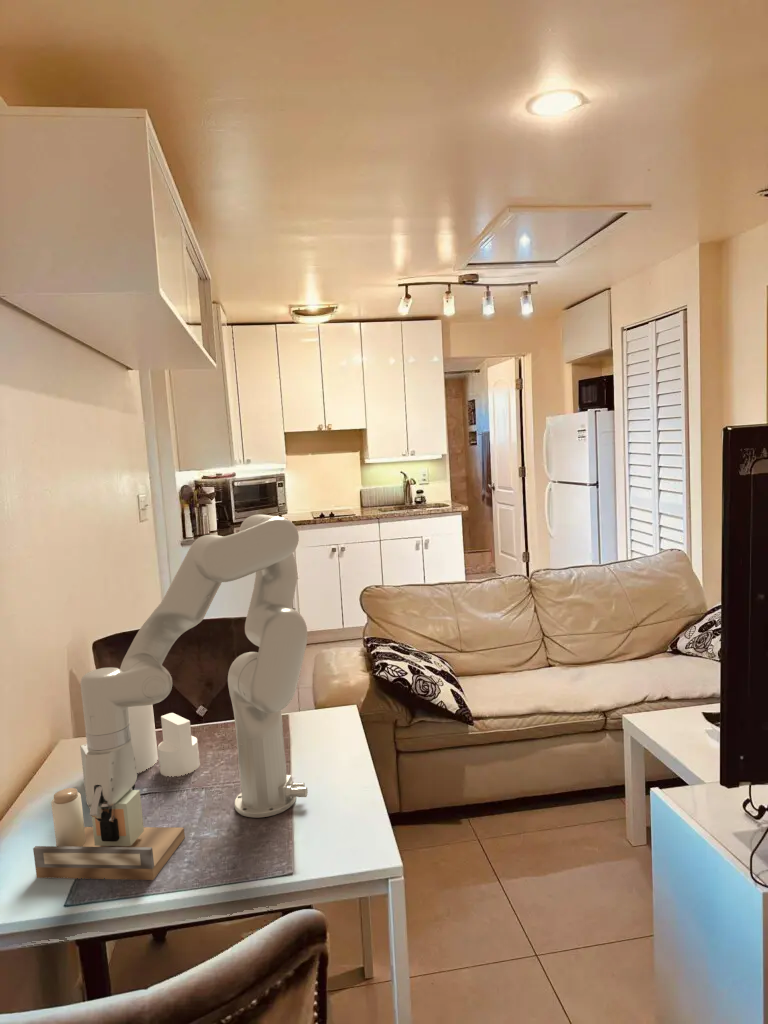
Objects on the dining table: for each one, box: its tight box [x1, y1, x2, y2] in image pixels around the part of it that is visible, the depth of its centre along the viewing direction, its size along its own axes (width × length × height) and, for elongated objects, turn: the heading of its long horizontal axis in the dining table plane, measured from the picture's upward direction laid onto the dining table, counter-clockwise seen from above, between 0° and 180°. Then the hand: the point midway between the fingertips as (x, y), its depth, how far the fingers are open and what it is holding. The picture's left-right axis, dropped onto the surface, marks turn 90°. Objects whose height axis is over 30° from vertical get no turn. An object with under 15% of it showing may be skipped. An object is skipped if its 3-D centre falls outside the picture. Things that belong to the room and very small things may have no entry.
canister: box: [128, 704, 159, 774], centre depth 165 cm, size 14×14×20 cm
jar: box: [50, 787, 86, 847], centre depth 128 cm, size 5×5×10 cm
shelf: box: [32, 826, 186, 881], centre depth 126 cm, size 22×13×6 cm, turn 82°
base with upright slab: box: [157, 712, 201, 778], centre depth 161 cm, size 9×9×12 cm
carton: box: [91, 789, 145, 846], centre depth 127 cm, size 5×7×8 cm
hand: (118, 830), depth 127 cm, fingers closed on carton, 5 cm apart
